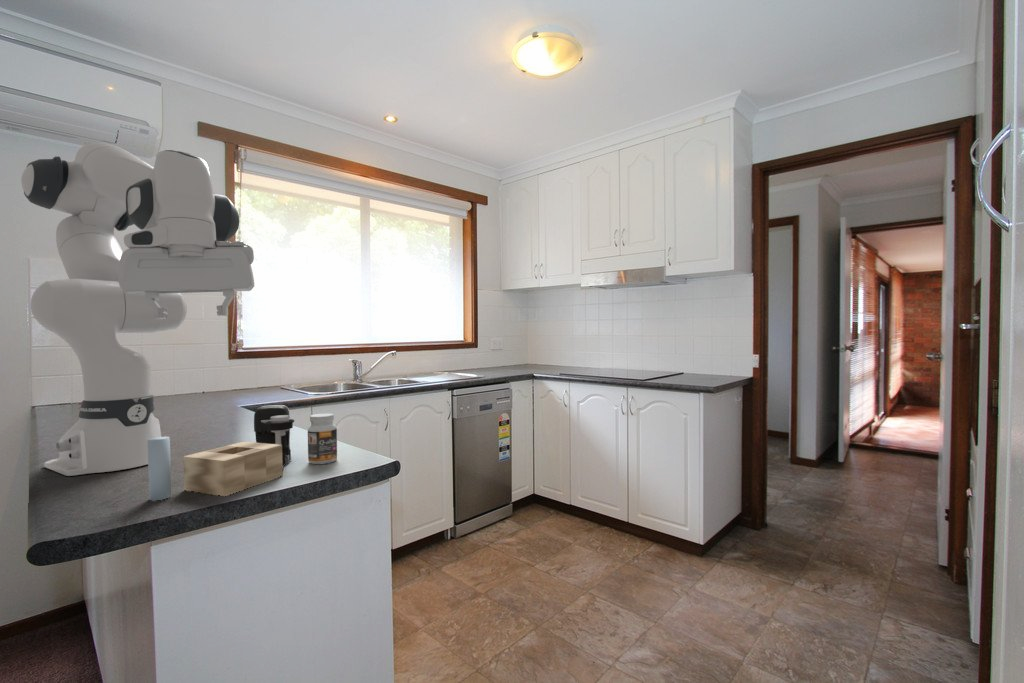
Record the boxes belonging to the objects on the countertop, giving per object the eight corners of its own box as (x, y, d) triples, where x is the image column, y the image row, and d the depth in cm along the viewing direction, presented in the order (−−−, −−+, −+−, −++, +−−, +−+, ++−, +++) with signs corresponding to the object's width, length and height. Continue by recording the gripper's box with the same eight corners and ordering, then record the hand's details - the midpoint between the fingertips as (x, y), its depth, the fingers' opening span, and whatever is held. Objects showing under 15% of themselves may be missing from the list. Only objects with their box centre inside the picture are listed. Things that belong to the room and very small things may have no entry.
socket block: (184, 490, 84) (183, 456, 84) (244, 471, 95) (243, 441, 95) (225, 496, 80) (224, 460, 80) (282, 476, 92) (282, 444, 91)
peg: (144, 500, 79) (143, 439, 79) (163, 494, 82) (161, 436, 82) (157, 502, 78) (155, 441, 78) (175, 496, 81) (173, 437, 81)
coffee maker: (253, 461, 103) (251, 408, 102) (257, 457, 106) (255, 405, 106) (288, 458, 105) (287, 406, 105) (291, 454, 108) (290, 404, 108)
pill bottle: (323, 466, 98) (322, 417, 98) (302, 463, 100) (301, 416, 100) (343, 459, 103) (342, 413, 103) (322, 457, 106) (321, 412, 105)
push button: (288, 468, 97) (287, 419, 97) (260, 470, 96) (259, 420, 96) (298, 460, 103) (297, 413, 103) (272, 461, 103) (271, 414, 102)
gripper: (255, 245, 93) (259, 316, 93) (127, 245, 86) (131, 321, 85) (249, 236, 87) (254, 312, 87) (112, 235, 80) (116, 317, 79)
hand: (192, 317), depth 86 cm, fingers open, 8 cm apart
